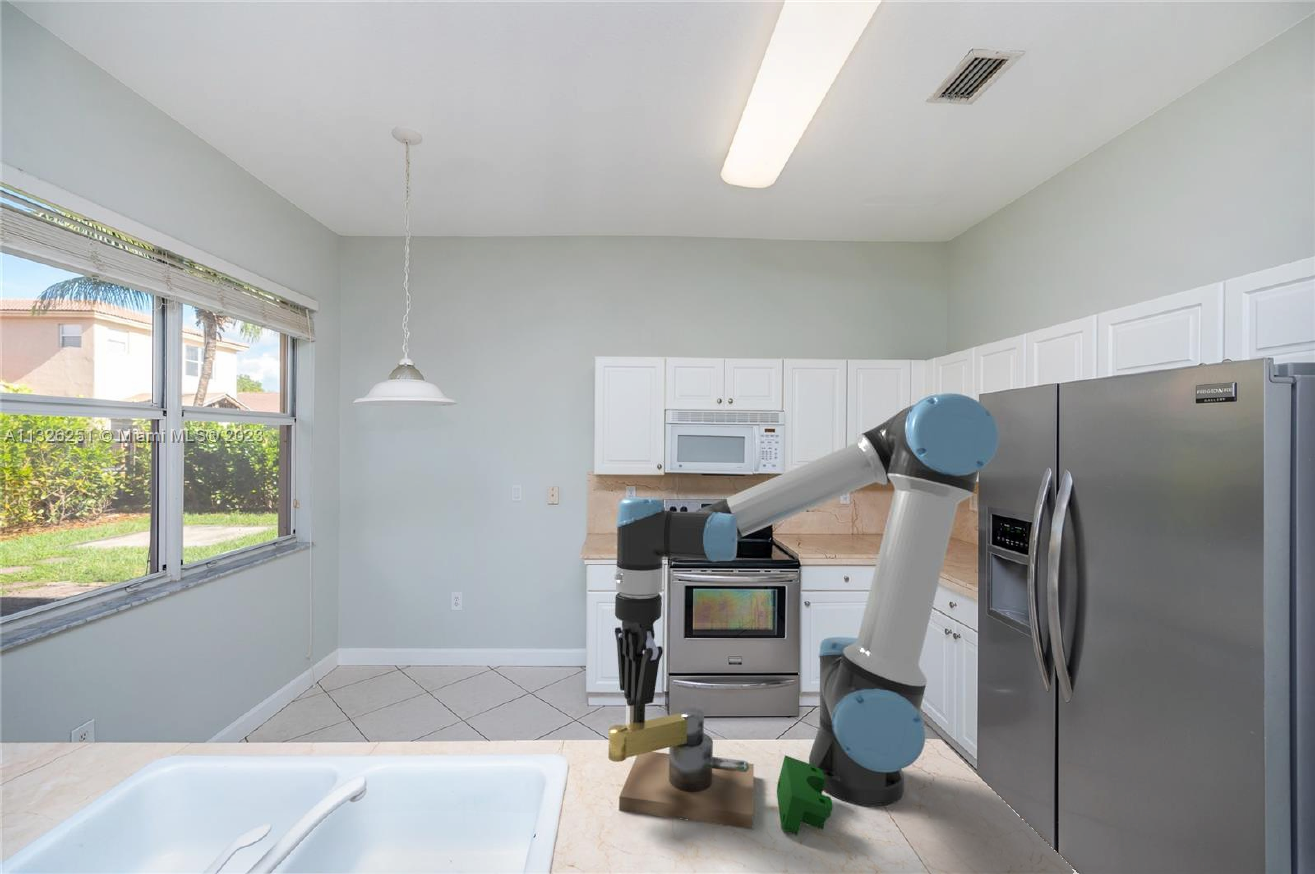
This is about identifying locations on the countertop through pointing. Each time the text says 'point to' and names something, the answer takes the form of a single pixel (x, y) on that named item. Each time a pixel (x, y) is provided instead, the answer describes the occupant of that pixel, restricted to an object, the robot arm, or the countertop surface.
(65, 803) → the countertop surface
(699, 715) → the yellow bar
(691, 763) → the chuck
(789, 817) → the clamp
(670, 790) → the stand
